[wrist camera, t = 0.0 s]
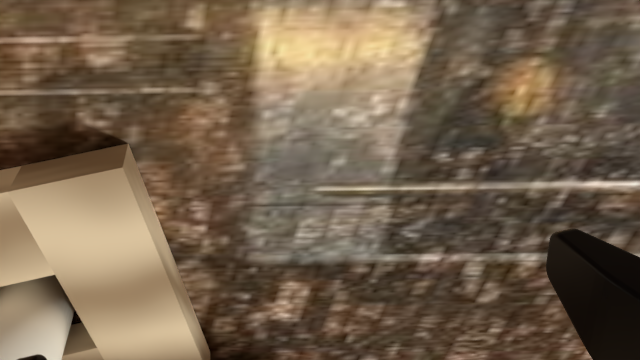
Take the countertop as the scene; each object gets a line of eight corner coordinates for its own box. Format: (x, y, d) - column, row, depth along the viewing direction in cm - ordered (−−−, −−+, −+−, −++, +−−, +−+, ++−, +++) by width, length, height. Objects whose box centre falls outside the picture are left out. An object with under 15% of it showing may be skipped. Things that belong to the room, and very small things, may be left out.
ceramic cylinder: (90, 312, 28) (65, 417, 23) (11, 330, 27) (-31, 440, 22) (58, 255, 25) (23, 357, 20) (-28, 274, 25) (-85, 382, 20)
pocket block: (210, 351, 31) (210, 381, 29) (-39, 412, 30) (-54, 446, 28) (128, 143, 23) (122, 167, 21) (-215, 215, 22) (-249, 246, 20)
